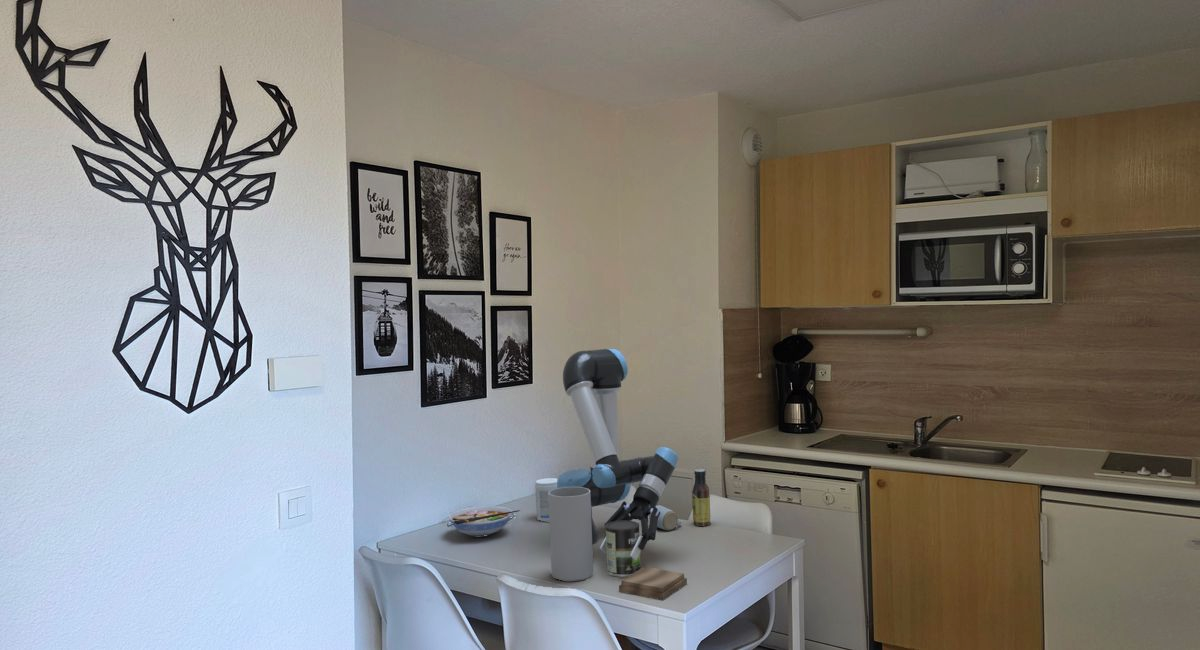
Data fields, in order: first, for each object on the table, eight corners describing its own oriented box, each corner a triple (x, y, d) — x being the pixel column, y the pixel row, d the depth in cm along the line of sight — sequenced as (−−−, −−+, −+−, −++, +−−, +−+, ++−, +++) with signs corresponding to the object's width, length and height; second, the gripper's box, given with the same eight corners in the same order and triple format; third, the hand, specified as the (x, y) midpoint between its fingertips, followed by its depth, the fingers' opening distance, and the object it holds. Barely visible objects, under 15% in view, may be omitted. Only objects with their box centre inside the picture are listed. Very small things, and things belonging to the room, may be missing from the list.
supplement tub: (567, 518, 298) (565, 479, 297) (548, 524, 291) (546, 484, 291) (550, 514, 304) (549, 476, 304) (531, 519, 298) (530, 481, 298)
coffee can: (647, 568, 238) (645, 522, 237) (630, 579, 229) (629, 531, 229) (617, 563, 243) (615, 518, 243) (600, 574, 234) (598, 527, 234)
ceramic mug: (663, 533, 274) (663, 511, 274) (648, 528, 280) (648, 506, 280) (686, 527, 280) (686, 506, 280) (671, 523, 287) (671, 502, 287)
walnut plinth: (619, 591, 219) (618, 580, 219) (644, 576, 231) (643, 565, 231) (663, 600, 212) (662, 589, 212) (686, 583, 223) (686, 573, 223)
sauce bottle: (694, 521, 287) (692, 467, 286) (711, 522, 285) (710, 468, 284) (691, 526, 280) (689, 471, 280) (709, 527, 278) (707, 471, 278)
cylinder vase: (596, 568, 239) (593, 486, 239) (589, 582, 227) (586, 496, 226) (556, 567, 241) (553, 486, 241) (547, 581, 229) (543, 496, 229)
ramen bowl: (499, 521, 297) (498, 499, 297) (527, 534, 278) (526, 511, 278) (436, 533, 283) (435, 511, 283) (461, 548, 264) (460, 524, 264)
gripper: (684, 504, 239) (654, 568, 228) (626, 494, 255) (595, 553, 244) (673, 490, 235) (642, 555, 224) (614, 480, 251) (582, 540, 240)
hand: (617, 554), depth 234 cm, fingers open, 11 cm apart
